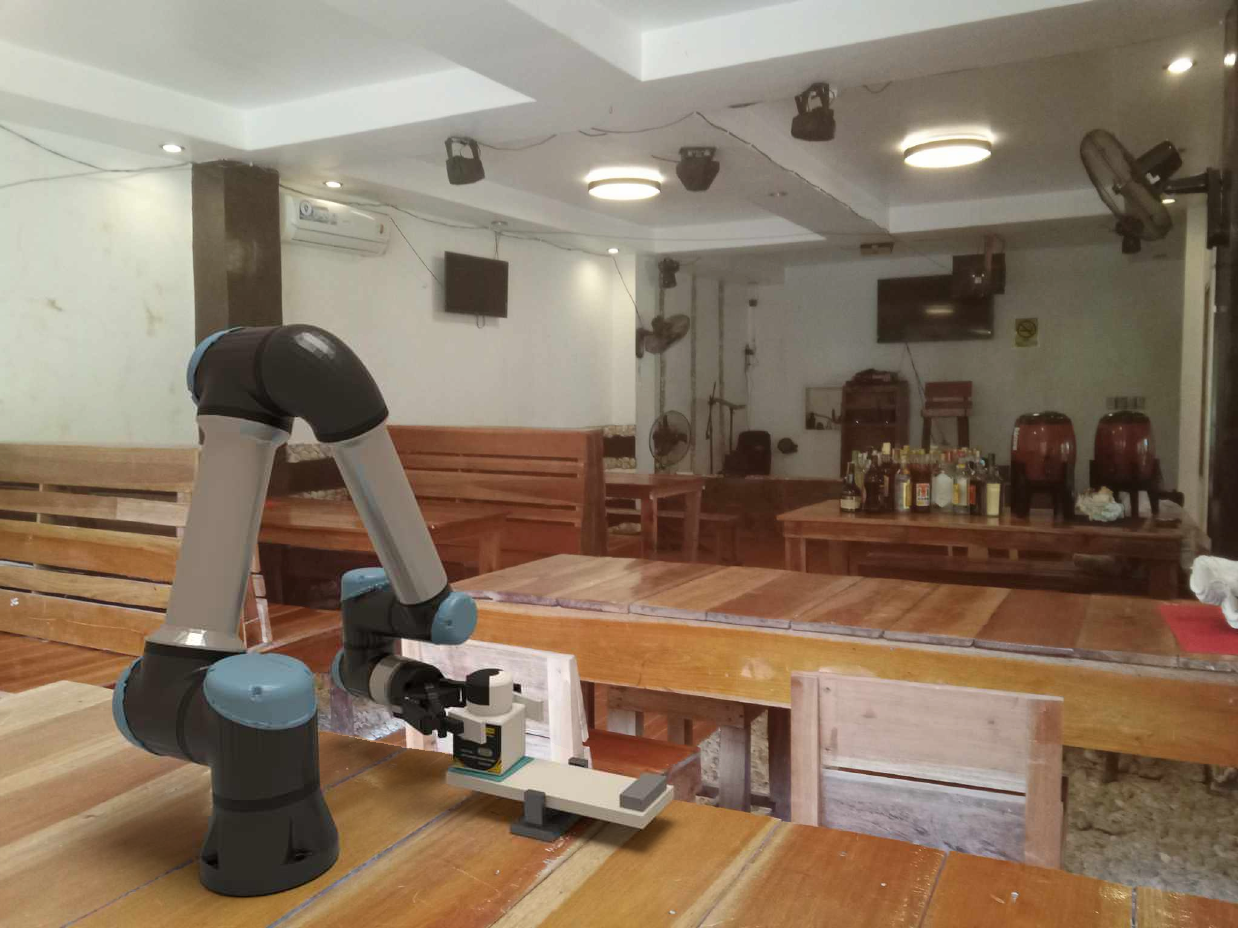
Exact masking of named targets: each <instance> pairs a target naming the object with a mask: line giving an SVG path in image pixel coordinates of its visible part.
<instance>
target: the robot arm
mask: <svg viewBox="0 0 1238 928" xmlns="http://www.w3.org/2000/svg"><path fill="white" fill-rule="evenodd" d="M186 369H187V370H186V387H187V390H188V391H189V392H190V394H192V395H191V400H192V402H193V403H194V404H195V406H196V407H197V410H196V416H195V423H197V425H198V427H200V429H201V430H202V432H203V433H204V439H203V445H202V450H201V453H200V458H199V463H198V467H197V472H196V476H195V481H194V485H193V488H192V489H193V490H192V493H191V498H190V504H189V506H188V507H189V508H188V512H187V516H186V521H185V525H184V531H183V534H182V535H183V536H182V539H181V544H180V549H179V553H178V558H177V562H176V567H175V570H174V575H173V580H172V584H171V588H170V593H169V597H168V602H167V607H166V612H165V616H164V620H163V624H162V625H161V626H160V628H158V629H157V630H155V631H154V632H152V633H151V634H150V635H148V636H146V639H145V643H144V648H143V652H142V655H139V657H137V658H134V660H132V661H131V663H130V665H129V666H128V667H126V668H124V669H123V671H122V672H121V673H120V674H119V677H118V679H117V681H116V683H115V686H114V688H113V689H114V690H113V694H112V699H111V700H112V701H111V709H112V716H113V720H114V723H115V725H116V728H117V730H118V731H119V733H121V735H122V737H124V738H125V740H126V741H128V742H129V743H130V744H132V745H133V746H136V747H138V748H140V749H142V750H145V752H148V753H149V754H152V755H154V756H158V757H169V758H173V759H177V760H181V761H184V762H187V763H188V762H189V763H192V764H196V765H199V766H204V767H207V768H210V783H211V795H212V808H211V812H210V816H209V820H208V823H207V828H206V830H205V835H204V838H203V842H202V844H201V848H200V852H199V858H198V860H199V861H198V863H199V876H200V881H201V882H202V884H203V885H204V887H206V888H208V889H209V890H211V891H213V892H215V893H218V894H222V895H228V896H237V897H242V896H243V897H247V896H258V895H259V896H260V895H267V894H272V893H277V892H282V891H286V890H288V889H291V888H294V887H297V886H300V885H302V884H305V883H307V882H309V881H311V880H313V879H315V878H317V877H318V876H320V875H321V874H323V873H324V872H326V871H327V870H328V869H329V868H331V866H332V865H333V864H334V863H335V861H337V859H338V856H339V853H340V839H339V830H338V827H337V825H336V823H335V820H334V817H333V815H332V812H331V811H330V808H329V806H328V804H327V801H326V799H325V796H324V794H323V791H322V789H321V780H320V753H319V752H320V750H319V749H320V748H319V723H318V722H319V720H318V716H319V715H318V695H317V693H316V689H315V680H314V676H313V672H312V670H311V669H310V668H309V667H308V665H307V664H305V663H304V662H303V661H301V660H299V659H297V658H295V657H292V656H289V655H286V654H283V653H282V654H281V653H275V652H274V653H271V652H270V653H269V652H268V653H266V654H265V653H264V654H261V653H260V652H250V653H249V652H248V648H247V646H246V644H244V642H243V640H241V638H240V636H239V634H238V633H239V630H240V624H241V619H242V616H243V609H244V606H245V605H244V604H245V600H246V595H247V590H248V586H249V580H250V575H251V571H252V567H253V561H254V557H255V551H256V547H257V542H258V538H259V531H260V526H261V523H262V522H261V521H262V517H263V512H264V509H265V502H266V499H267V498H266V497H267V494H268V490H269V489H268V488H269V484H270V480H271V475H272V474H271V473H272V469H273V465H274V461H275V460H274V459H275V455H276V450H277V449H278V448H279V447H281V446H282V445H284V444H285V443H286V442H288V441H290V440H291V438H292V434H293V433H292V432H293V428H294V424H295V423H294V422H295V419H296V418H299V419H302V420H303V421H304V422H306V424H307V425H308V426H309V427H310V428H311V430H312V432H313V435H314V438H315V439H316V442H318V443H319V444H321V445H323V446H327V447H329V449H330V452H331V455H332V456H333V459H334V461H335V464H336V465H337V468H338V470H339V472H340V475H341V476H342V477H341V478H342V479H343V482H344V484H345V486H346V488H347V491H348V492H349V495H350V497H351V499H352V501H353V503H354V506H355V509H356V511H357V513H358V515H359V517H360V519H361V522H362V524H363V527H364V529H365V531H366V533H367V535H368V538H369V539H370V541H371V544H372V546H373V549H374V550H375V553H376V556H377V558H378V559H379V562H380V564H381V567H362V568H355V569H351V570H349V571H347V572H345V573H344V574H343V575H342V577H341V583H340V585H341V586H340V587H341V589H340V590H341V591H340V600H339V601H340V604H341V605H340V606H341V607H340V609H341V619H342V620H341V621H342V622H341V623H342V633H343V634H342V636H343V645H342V648H340V649H339V651H337V653H336V655H335V657H334V659H333V663H332V665H331V675H332V678H333V681H334V683H335V684H336V686H338V687H339V688H340V689H341V690H343V691H345V692H347V693H348V694H350V695H351V696H353V697H356V698H360V699H364V700H367V701H370V702H373V703H376V704H378V705H381V706H384V707H386V708H389V709H391V710H392V718H396V719H400V720H403V721H404V722H405V723H407V724H408V725H409V726H411V727H412V728H414V729H415V730H416V731H418V732H419V733H420V734H421V735H423V736H431V735H432V734H433V731H436V732H437V738H438V739H445V738H447V737H448V733H449V734H452V735H453V734H456V735H458V736H461V737H464V738H466V739H469V740H472V741H474V742H477V743H480V744H483V743H486V725H485V721H483V720H480V719H478V718H475V717H472V716H469V715H466V714H463V713H460V712H458V711H459V710H458V711H457V710H455V709H452V710H448V709H450V708H459V709H463V708H464V707H466V706H467V704H466V680H455V679H452V678H448V677H447V678H446V677H445V676H444V674H443V673H442V671H441V670H440V669H439V668H438V667H437V666H435V665H432V664H431V663H426V662H423V661H420V660H418V659H414V658H411V657H408V656H403V655H401V654H397V653H396V639H401V640H409V641H414V642H421V643H427V644H432V645H434V646H435V645H436V646H461V645H463V644H465V643H466V642H467V641H468V640H469V639H470V638H471V636H472V635H473V634H474V633H475V631H476V629H477V628H476V627H477V624H478V619H479V618H478V616H479V615H478V611H479V610H478V607H477V606H478V605H477V603H476V601H475V599H474V598H473V597H471V596H470V595H469V594H468V593H464V592H461V591H460V590H455V591H454V590H453V588H452V586H451V583H450V581H449V579H448V577H447V574H446V571H445V569H444V566H443V564H442V562H441V561H442V560H441V558H440V555H439V554H438V551H437V548H436V545H435V544H434V541H433V538H432V536H431V534H430V531H429V529H428V527H427V523H426V522H425V519H424V516H423V514H422V512H421V509H420V506H419V505H418V501H417V499H416V497H415V495H414V491H413V489H412V487H411V484H410V482H409V480H408V477H407V475H406V472H405V470H404V467H403V464H402V462H401V460H400V458H399V455H398V453H397V450H396V448H395V445H394V443H393V441H392V438H391V436H390V433H389V430H388V428H387V425H386V424H387V422H388V420H389V417H390V411H389V408H388V406H387V404H386V402H385V399H384V396H383V394H382V392H381V390H380V388H379V386H378V384H377V382H376V380H375V378H374V377H373V375H372V374H371V372H370V371H369V369H368V368H367V366H366V365H365V364H364V363H363V361H362V360H361V358H359V357H358V355H357V354H356V353H355V352H354V351H353V349H352V348H351V347H350V346H348V345H347V344H346V343H345V342H344V341H343V340H341V338H339V337H337V335H335V334H334V333H332V332H330V331H328V330H326V329H324V328H322V327H319V326H316V325H313V324H312V325H311V324H307V323H291V324H285V325H274V326H259V327H258V326H256V327H252V326H238V327H233V328H231V329H227V330H222V331H218V332H216V333H213V334H212V335H210V336H208V337H206V338H205V339H204V340H202V341H201V342H200V343H199V345H197V347H196V348H195V349H194V351H193V353H192V354H191V357H190V359H189V362H188V364H187V368H186ZM470 674H471V673H469V674H466V675H465V679H466V678H467V677H468V676H469V675H470ZM513 703H519V704H524V705H525V706H526V719H529V720H531V721H535V722H539V723H540V722H543V721H544V700H543V699H539V698H536V697H533V696H529V695H526V694H524V693H522V684H520V683H515V682H513ZM446 709H447V710H448V711H446Z"/></svg>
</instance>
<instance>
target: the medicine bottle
mask: <svg viewBox="0 0 1238 928" xmlns="http://www.w3.org/2000/svg"><path fill="white" fill-rule="evenodd" d="M469 674H470V675H469ZM469 674H468V675H469V676H468V677H467V678H466V677H465V681H466V704H467V706H466V707H464V708H460V710H458V712H460V713H463V714H466V715H469V716H472V717H475V718H478V719H480V720H483V721H485V725H486V743H483V744H480V743H477V742H474V741H472V740H469V739H466V738H464V737H461V736H458V735H456V734H452V767H453V766H454V767H457V768H462V769H467V770H472V771H477V772H482V773H487V774H493V775H498V776H501V775H502V774H503V773H505V772H506V771H507V770H508V769H509V768H510V767H512V766H513V765H514V764H515V763H516V762H517V761H519V760H520V759H521V758H522V757H523V756H526V750H527V747H526V745H527V741H526V739H527V738H526V729H527V728H526V727H527V725H526V722H527V720H526V719H527V718H526V706H525V705H524V704H519V703H513V683H514V677H513V675H512V674H511V672H508V671H506V670H504V669H501V668H493V667H492V668H481V669H478V670H475V671H472V672H470V673H469Z"/></svg>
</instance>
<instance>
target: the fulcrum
mask: <svg viewBox="0 0 1238 928" xmlns="http://www.w3.org/2000/svg"><path fill="white" fill-rule="evenodd" d="M567 761H568V763H567V764H568V765H573V766H578V767H583V768H588V769H589V759H585V758H580V757H576V756H571V757H570V758H568V760H567ZM583 817H585V816H584V815H580V814H575V813H571V812H567V811H562V810H558V809H554V808H549V807H546V797H545V792H541V791H536V790H531V789H528V790H526V791H525V792H524V812H522V813H521V814H520V815H519V816H517V817H516V818H515V819H514V820H512V821H511V822H509V828H510V829H509V832H510V834H514V835H519V836H522V837H527V838H531V839H536V840H539V841H544V842H550V843H554V842H555V841H556V840H558V839H559V838H560V837H561V836H562V835H564V833H565V832H567V831H568V830H569V829H571V827H572V826H574V825H575V824H576V823H577V822H578V821H579V820H580V819H582V818H583Z"/></svg>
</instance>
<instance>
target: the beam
mask: <svg viewBox="0 0 1238 928" xmlns="http://www.w3.org/2000/svg"><path fill="white" fill-rule="evenodd" d="M445 784H446V785H449V786H453V787H459V788H462V789H463V788H464V789H467V790H471V791H472V790H473V791H477V792H480V793H485V794H489V795H493V796H497V797H502V798H506V799H509V800H510V799H511V800H516V801H520V802H522V803H523V802H524V792H525V791H526V790H528V789H531V790H536V791H541V792H545V797H546V807H549V808H554V809H558V810H562V811H567V812H571V813H575V814H580V815H584V816H583V817H589V818H593V819H597V820H603V821H606V822H611V823H615V824H620V825H623V826H628V827H633V828H637V829H641V830H643V829H644V828H646V826H647V825H648V824H649V823H650V822H652V821H653V819H654V818H655V817H656V816H657V815H658V814H659V813H660V812H661V811H662V810H663V809H664V808H666V806H667V805H668V804H669V803H670V802H671V801H672V800H674V798H675V789H674V788H675V786H674V785H669V784H668V776H665V775H660V774H655V773H652V772H651V773H650V772H645V771H644V772H643V773H642V774H641V775H640V776H638V778H636V777H632V776H627V775H626V776H625V775H623V774H622V775H621V774H616V773H611V772H606V771H602V770H596V769H592V768H589V767H588V768H583V767H578V766H573V765H568V763H563V762H558V761H553V760H548V759H544V758H543V759H542V758H538V757H533V756H528V755H524V756H523V757H522V758H521V759H520V760H519V761H517V762H516V763H515V764H514V765H513V766H512V767H510V768H509V769H508V770H507V771H506V772H505V773H503V774H502V775H501V776H498V775H493V774H487V773H482V772H477V771H472V770H467V769H462V768H457V767H454V766H453V765H452V767H450V768H448V769H447V771H446V772H445Z"/></svg>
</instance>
